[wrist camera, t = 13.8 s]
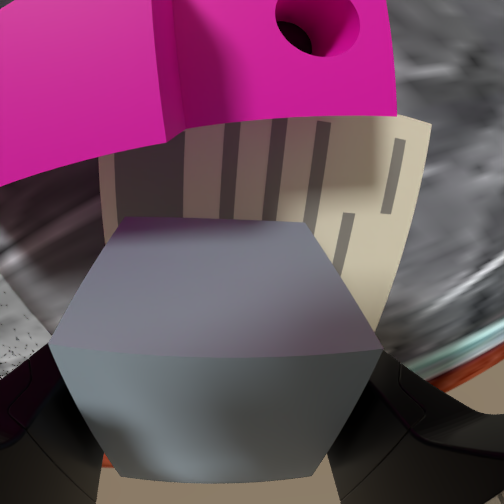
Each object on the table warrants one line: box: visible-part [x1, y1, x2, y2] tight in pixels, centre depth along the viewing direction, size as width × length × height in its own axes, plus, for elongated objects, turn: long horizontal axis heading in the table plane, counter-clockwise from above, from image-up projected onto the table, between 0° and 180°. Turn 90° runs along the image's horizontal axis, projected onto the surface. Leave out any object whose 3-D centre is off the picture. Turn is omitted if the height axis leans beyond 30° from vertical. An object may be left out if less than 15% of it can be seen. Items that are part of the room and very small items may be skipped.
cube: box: [48, 217, 384, 483], centre depth 7 cm, size 5×5×5 cm
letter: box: [98, 114, 432, 332], centre depth 11 cm, size 12×10×1 cm
